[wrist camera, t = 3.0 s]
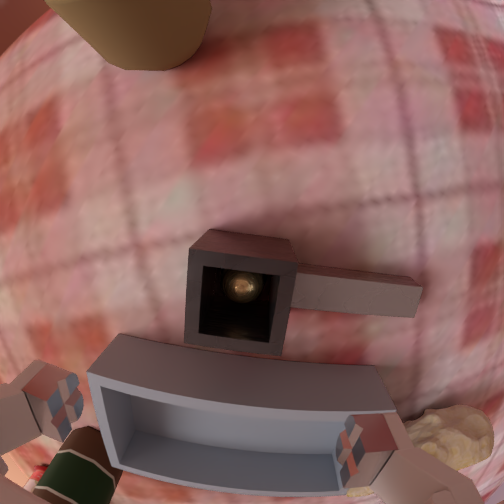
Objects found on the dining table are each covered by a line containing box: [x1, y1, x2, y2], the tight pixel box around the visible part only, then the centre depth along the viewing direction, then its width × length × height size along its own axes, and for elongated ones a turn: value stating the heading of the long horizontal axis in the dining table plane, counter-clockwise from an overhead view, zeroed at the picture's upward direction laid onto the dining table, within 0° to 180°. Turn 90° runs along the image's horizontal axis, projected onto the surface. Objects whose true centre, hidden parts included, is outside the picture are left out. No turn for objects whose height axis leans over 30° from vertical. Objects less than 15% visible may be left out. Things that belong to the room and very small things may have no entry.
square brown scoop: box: [184, 229, 423, 356], centre depth 19 cm, size 16×6×6 cm, turn 83°
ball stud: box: [221, 268, 267, 303], centre depth 20 cm, size 3×3×3 cm
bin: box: [86, 334, 397, 497], centre depth 22 cm, size 22×12×6 cm, turn 83°
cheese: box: [347, 404, 494, 497], centre depth 22 cm, size 15×7×15 cm
